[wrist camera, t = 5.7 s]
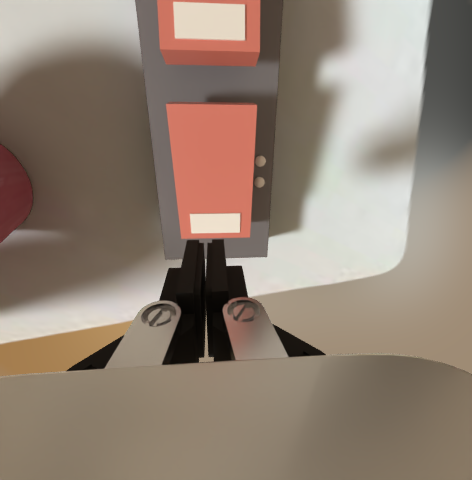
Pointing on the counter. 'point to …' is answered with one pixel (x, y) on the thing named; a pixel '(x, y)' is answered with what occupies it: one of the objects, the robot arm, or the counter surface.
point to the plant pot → (13, 193)
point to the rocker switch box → (213, 90)
